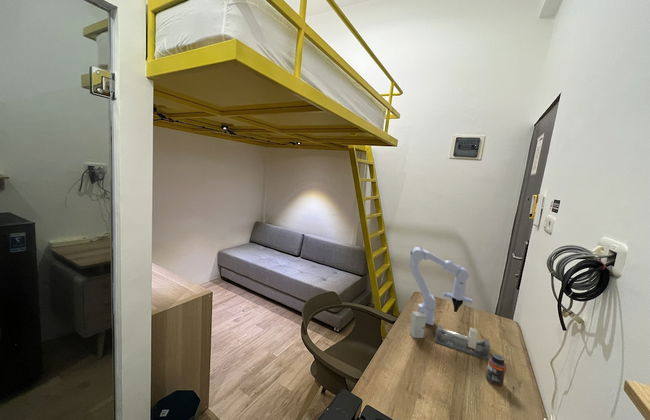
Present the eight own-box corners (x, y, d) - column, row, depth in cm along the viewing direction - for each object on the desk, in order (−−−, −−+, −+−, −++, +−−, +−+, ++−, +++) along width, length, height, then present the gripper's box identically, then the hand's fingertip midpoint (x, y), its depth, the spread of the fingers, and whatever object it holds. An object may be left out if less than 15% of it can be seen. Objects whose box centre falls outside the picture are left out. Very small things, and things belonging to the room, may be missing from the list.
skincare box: (413, 338, 125) (416, 316, 124) (408, 332, 130) (411, 311, 128) (424, 337, 126) (427, 316, 125) (419, 332, 130) (422, 311, 129)
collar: (468, 346, 120) (470, 331, 119) (467, 341, 124) (469, 326, 123) (475, 349, 118) (478, 333, 117) (473, 343, 123) (476, 328, 122)
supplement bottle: (499, 378, 103) (504, 354, 101) (505, 389, 97) (510, 363, 96) (483, 373, 105) (488, 349, 103) (487, 384, 99) (492, 359, 98)
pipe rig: (434, 342, 123) (436, 332, 122) (435, 330, 134) (436, 320, 133) (490, 361, 113) (492, 350, 112) (486, 346, 124) (488, 336, 123)
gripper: (444, 287, 136) (441, 310, 137) (474, 295, 130) (470, 318, 131) (444, 283, 142) (441, 305, 144) (473, 290, 136) (469, 312, 138)
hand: (455, 311), depth 138 cm, fingers closed
